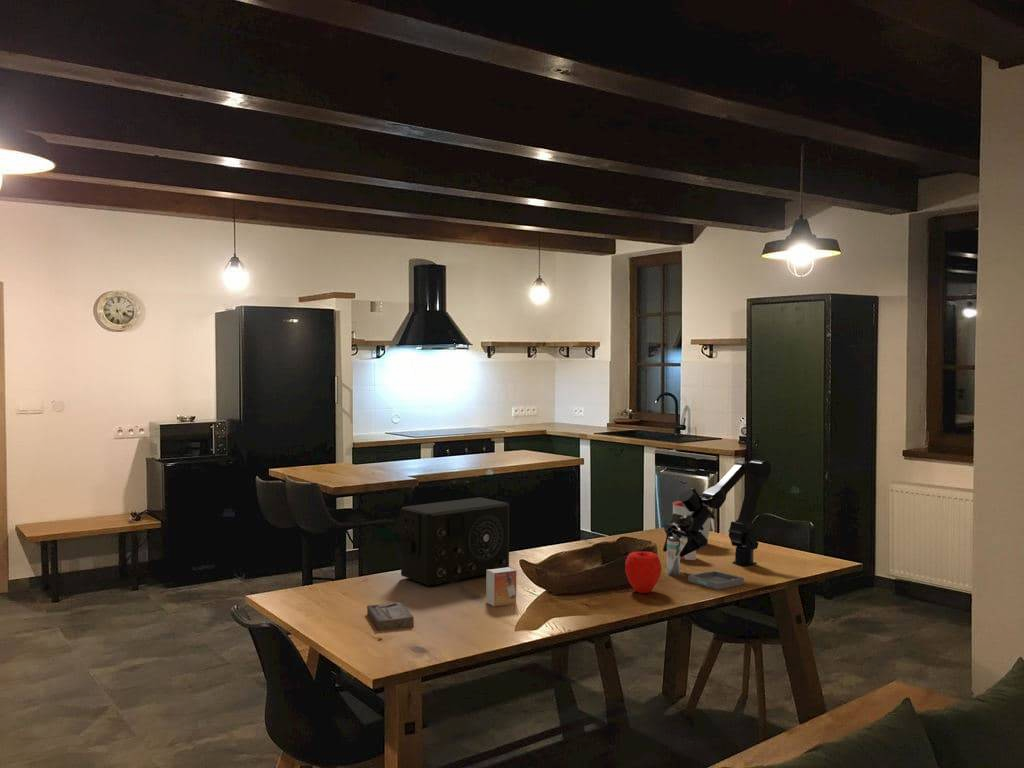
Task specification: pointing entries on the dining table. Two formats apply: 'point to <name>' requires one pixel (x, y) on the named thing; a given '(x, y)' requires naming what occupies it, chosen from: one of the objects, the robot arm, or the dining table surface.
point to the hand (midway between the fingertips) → (671, 553)
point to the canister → (673, 556)
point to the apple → (643, 570)
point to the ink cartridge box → (682, 543)
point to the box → (390, 616)
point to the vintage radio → (453, 539)
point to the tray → (716, 580)
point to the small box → (501, 586)
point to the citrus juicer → (681, 510)
